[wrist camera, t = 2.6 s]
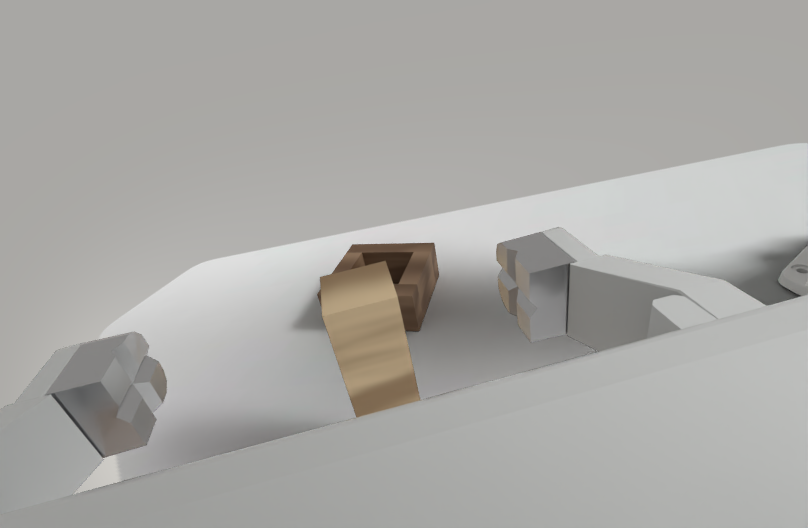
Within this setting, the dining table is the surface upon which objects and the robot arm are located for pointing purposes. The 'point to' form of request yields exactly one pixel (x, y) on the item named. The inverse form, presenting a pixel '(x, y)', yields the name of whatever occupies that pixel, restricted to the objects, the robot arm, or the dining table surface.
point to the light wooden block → (369, 338)
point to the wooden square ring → (400, 274)
